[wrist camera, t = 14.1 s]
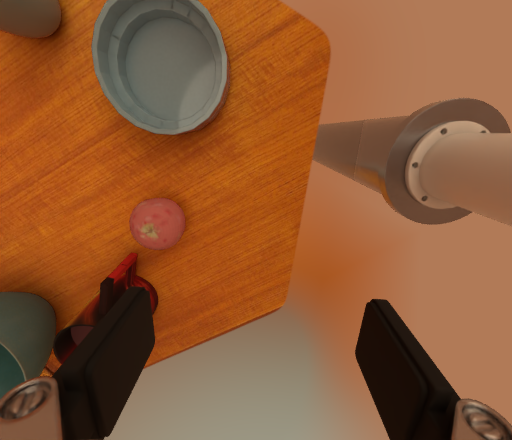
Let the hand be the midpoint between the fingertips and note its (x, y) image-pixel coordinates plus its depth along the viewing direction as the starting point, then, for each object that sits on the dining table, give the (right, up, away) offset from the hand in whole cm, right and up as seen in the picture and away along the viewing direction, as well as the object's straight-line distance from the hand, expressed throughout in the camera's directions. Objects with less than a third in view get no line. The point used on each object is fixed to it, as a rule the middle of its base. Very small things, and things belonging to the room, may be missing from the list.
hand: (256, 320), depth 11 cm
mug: (-23, -8, +34) cm, 42 cm away
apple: (-14, +5, +29) cm, 33 cm away
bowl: (-11, +24, +23) cm, 35 cm away
